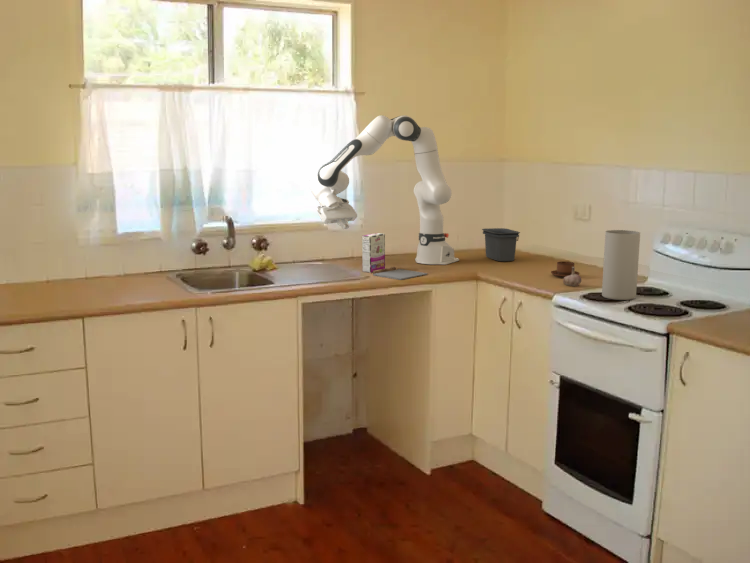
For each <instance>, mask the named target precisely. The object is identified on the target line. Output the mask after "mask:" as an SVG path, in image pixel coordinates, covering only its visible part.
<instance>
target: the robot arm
mask: <svg viewBox="0 0 750 563" xmlns="http://www.w3.org/2000/svg"><path fill="white" fill-rule="evenodd" d="M391 137H395V138H396V139H398V140H401V141H406V142H411V144H412V146H413V148H412V149H413V153H414V161H415V166H416V167H415V168H416V170H417V172H418V174H419V175H420V177H421V178H420V179H421V180H419V181H418V182H416V184H415V185H414V188H413V194H414V197H415V199H416V202H417V208H418V213H419V233H418V241H419V242H418V244H417V249H416V257H415V258H414V260H415V263H418V264H422V265H449V264H453V263H455V262H458V261H460V259H459V258H458V257H456V256H455V250H454V247H453V246H452V245H450V244H449V243H448V241H446V238H449V236H450V234H449V233H446V232H445V233H444V215H443V213H442V209H441V205H443V204H446V203H447V202H449V201H450V199H451V198H452V189H451V186H450V185H449V184H448V183H447V181H446V178H445V175H444V172H443V170H442V166H441V163H440V155H439V150H438V144H437V138H436V136H435V132H434V130H432V128H430V127H427V126H422V127H420V125H418V123H417V121H416V120H414V118H412V117H411V116H409V115H399V116H396V117H394V118H389V117H387V116H386V115H384V114H383V115H381V114H380V115H378V116H376V117H375V118H374V119H372V120H371V121H370V122H369V124H368V125H366V127H364V129H363V130H362V131H361V132H360V133H359V134H358V135H357V136H356V137H355V138H354V139H353V140H351V141H349V142H348V143H347V144H346V145H345V146H344V147H343V148H341V150H340V151H339V152H338V153H337V154H336V155H335V156H334V157H333V158H332V159H331V160H330V161H328V162H326V163H325V164H322V166H321V167H320V168H319V169H318V171H317V174H316V175H315V176H313V177H312V179H311V180H309V181H310V182H309V189H310V188H311V189H310V190H311V193H312V195H313V196H314V198H315V200H316V201H318V202H319V205H320V206H317V207H316V211H317V212H318V216H319V218H320V220H321V222H322V224H325V225H329V224H337V225H339V226H340V227H341V228H342V229H343V230H347V229H350V225H349V222H355V221H356V219H357V217H358V213H357V211H355V209H354V207H353V206H352V205H351V204H349V203H350V201H349V200H348V199H347V198H342V197H339V196H337V195H339V194H341V193H342V192H344V191H345V190H346V189H348V187H349V184H350V178H349V176H348V173H347V174H346V173H345V172H344V171H343V169H344V168H345V167H346V166H347V164H349V163H350V162H351V161H352V160H353V159H355V158H356V157H359V156H360V157H361V156H372V155H373V154H375V153H377V152H378V151H379V149H381V147H382V146H383V145H384V143H386V141H387V140H388V139H389V138H391Z"/></svg>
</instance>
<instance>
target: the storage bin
mask: <svg viewBox="0 0 750 563" xmlns="http://www.w3.org/2000/svg"><path fill="white" fill-rule="evenodd" d="M481 231H482V235H484V242H485V243H484V244H485V257H486V258H488V259H491V260H494V261H498V262H513V261H515V257H516V247H517V241H519V238H520V233H521V232H520V231H518V230H514V229H509V228H505V227H504V228H502V227H501V228H498V227H497V228H493V227H492V228H482V229H481Z"/></svg>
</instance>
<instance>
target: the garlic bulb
mask: <svg viewBox="0 0 750 563" xmlns="http://www.w3.org/2000/svg"><path fill="white" fill-rule="evenodd" d="M575 271H576V270H575V266H574V267H572V274H571V275H569V276H566V277H564V278H562V282H563V284H564V285H566V286H570V287H571V286H572V287H575V288H576V287H578V286H579V285H580V284H581V282H582V277H581V275H580V274H579V275H577V274H575Z"/></svg>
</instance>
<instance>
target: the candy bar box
mask: <svg viewBox="0 0 750 563" xmlns="http://www.w3.org/2000/svg"><path fill="white" fill-rule="evenodd" d="M385 236H386V234H385V233H383V232H382V233H380V232H377V233H376V232H375V233H371V234H370V233H369V234H365V235H362V236H361V242H362V243H361V246H362V247H361V251H362V252H361V253H362V255H361V256H362V261H361V262H362V268H361V269H362V273H373V271H375V270H380V269H386V237H385Z"/></svg>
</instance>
